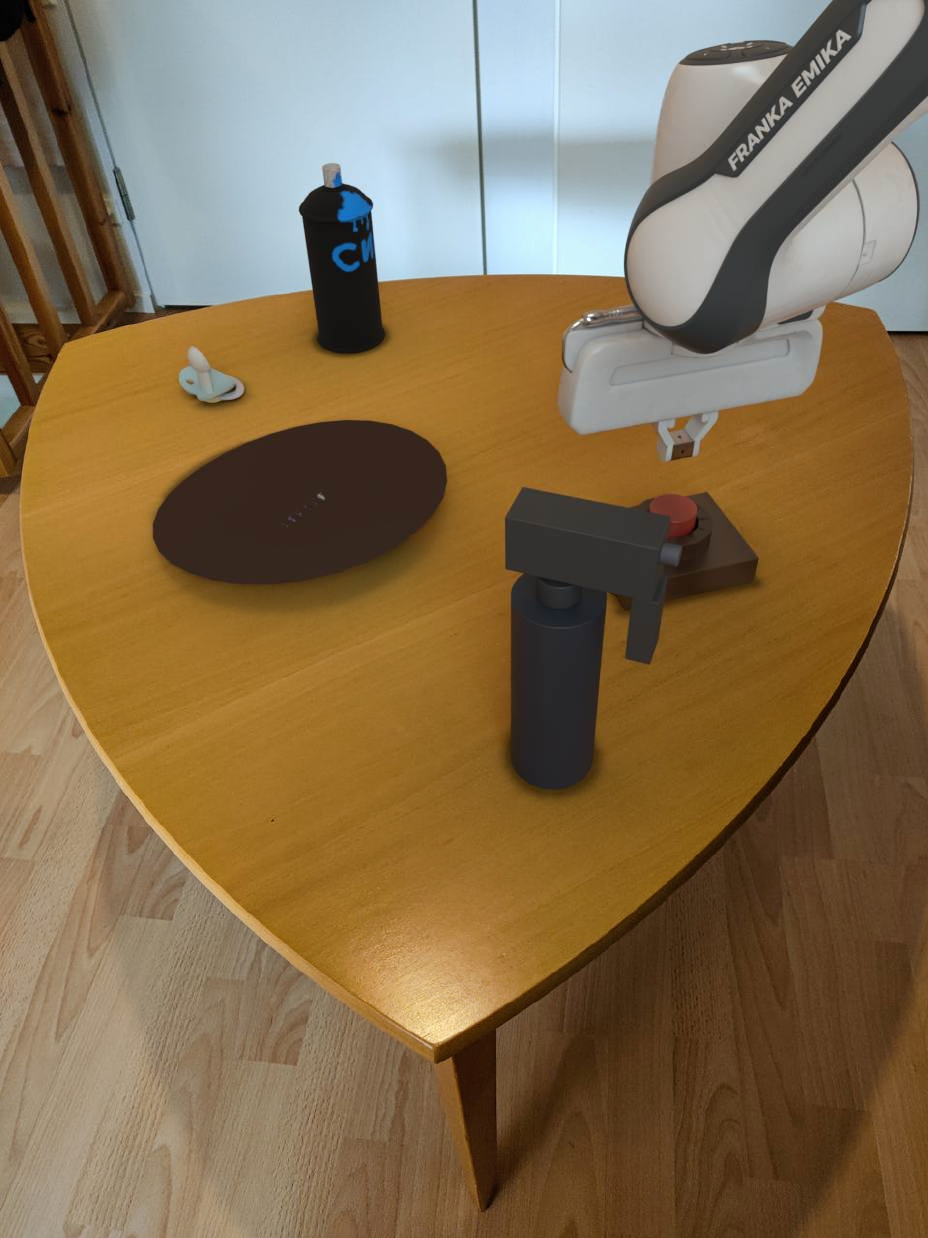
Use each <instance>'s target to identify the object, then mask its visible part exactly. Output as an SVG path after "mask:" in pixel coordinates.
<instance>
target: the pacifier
mask: <svg viewBox="0 0 928 1238" xmlns="http://www.w3.org/2000/svg"><path fill="white" fill-rule="evenodd" d="M186 354H187V355H186V356H187V361H188V363H189V365H187V366H185V367H184V368H183V369H181V371H179V374H178V381H179V384H180V386H181V388H182V389H183V390H184V391H185V392H187V393H189V394H191V395H194V396H196V397H197V400H199V401H200V402H201V401H203V402H206V403H209V404H211V403H213V404H215V403H218V402H221V401H231V400H232V401H233V400H235V399H238V398H240V397H241V396H242V395H243V394H245V393H244V392H245V386H244V384H243V382H242V381H241V380H240V379H238V378H237V377H235V376H232V375H229V374H226V373H223V372H221V371H219V370H217V369H215V368H212V367H211V365H210V363H209V361H208V359H207V358H206V357H205V355H204V354H203V352H202V351H200V349H199V348H197V347H196V346H193V345H191V346H190V347H189V349H188V350H187V353H186ZM188 382H192V384H190V383H188ZM233 388H235V390H233V391H232V392H229V391H231V390H232V389H233Z"/></svg>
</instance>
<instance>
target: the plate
mask: <svg viewBox="0 0 928 1238" xmlns="http://www.w3.org/2000/svg"><path fill="white" fill-rule="evenodd" d="M447 473H448V472H447V465H446V463H445V461H444V459H443V457H442V455H441V453H440V451H439V450H438V449H437V448H436V447H435V446H434V445H433V444H432V443H431V442H430V441H429V440H428V439H426V438H425V437H423V436H421V435H419V434H418V433H416V432H415V431H413V430H410V429H408V428H404V427H403V426H399V425H395V424H392V423H386V422H383V421H382V422H380V421H374V420H367V419H366V420H364V419H363V420H362V419H339V420H329V421H319V422H314V423H313V422H312V423H308V424H304V425H302V424H301V425H297V426H293V427H290V428H286V429H283V430H279V431H276V432H271V433H269V434H266V435H263V436H260V437H257V438H255V439H252V440H250V441H247V442H245V443H243V444H241V445H238V446H237V447H234V448H232V449H231V450H229V451H226V452H224V453H222V454H220V455H219V456H217V457H215V458H214V459H212V460H211V461H209V462H207V463H205V464H203V465H202V466H200V467H199V468H198V469H196V470H195V471H193V472H192V473H191V474H189V475H188V476H187V477H186V478H184V479H183V480H182V481H181V482H180V483H179V484H178V485H177V486H175V487H174V488H173V489H172V490H171V491H170V492H169V493H168V494H167V496H166V497H165V498H164V500H163V501H162V503H161V504H160V506H159V507H158V508H157V511H156V513H155V516H154V519H153V522H152V539H153V541H154V544H155V546H156V549H157V551H158V553H160V554H161V556H163V557H164V558H165V560H167V561H168V562H169V563H170V564H171V565H173V566H174V567H177V568H179V569H181V570H182V571H184V572H186V573H188V574H190V575H192V576H197V577H199V578H203V579H205V580H208V581H209V580H210V581H213V582H219V583H226V584H227V583H229V584H234V585H235V584H236V585H280V584H288V583H298V582H305V581H310V580H314V579H318V578H322V577H326V576H332V575H335V574H339V573H342V572H344V571H347V570H350V569H353V568H356V567H358V566H361V565H364V564H367V563H369V562H371V561H373V560H375V559H377V558H379V557H382V556H383V555H385V554H386V553H388V552H391V551H393V550H394V549H396V548H397V547H399V546H400V545H402V544H404V542H405V541H407V540H408V539H410V538H411V537H413V536H414V535H415V534H417V533H418V532H419V531H420V530H421V528H422V527H424V526H425V524H427V522H428V521H429V520H431V518H432V517H433V516H434V514H435V513H436V511H437V509H438V508H439V506H440V504H441V503H442V501H443V499H444V496H445V492H446V489H447V486H448V485H447V484H448V474H447Z"/></svg>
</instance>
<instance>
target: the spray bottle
mask: <svg viewBox="0 0 928 1238" xmlns="http://www.w3.org/2000/svg"><path fill="white" fill-rule="evenodd" d="M670 520H671V517H670V516H667V515H662V514H657V513H652V512H647V511H642V510H637V509H632V508H629V507H626V506H621V505H616V504H611V503H606V502H601V501H596V500H591V499H586V498H581V497H576V496H571V495H570V496H569V495H565V494H561V493H556V492H550V491H545V490H540V489H535V488H531V487H526V486H522V487H521V488H520V490H519V492H518V494H517V496H516V497H515V499H514V501H513V503H512V505H511V506H510V508H509V510H508V511H507V513H506V515H505V517H504V555H505V556H504V569H505V570H507V571H511V572H515V573H519V574H521V575H520V576H518V577H517V579H516V580H515V581H514V583H513V584H512V587H511V590H510V760H511V761H510V762H511V764H512V767H513V769H514V771H515V772H516V774H517V775H518V776H519V777H520V778H521V779H522V780H523V781H524V782H527V783H528V784H530V785H532V786H535V787H537V788H540V789H545V790H562V789H567V788H570V787H572V786H575V785H576V784H578V783H580V782H581V781H582V780H583V779H584V778H585V777H587V775H588V774H589V772H590V771H591V769H592V765H593V760H594V751H595V740H596V727H597V716H598V708H599V707H598V705H599V694H600V683H601V671H602V661H603V651H604V650H603V649H604V640H605V639H604V638H605V630H606V629H605V627H606V617H607V606H608V605H607V604H608V593H609V594H613V595H615V594H618V595H622V596H626V597H631V598H635V599H640V600H644V601H649V602H651V601H652V599H653V597H654V594H655V591H656V588H657V586H658V583H659V580H660V578H661V575H662V572H663V569H664V564H667V565H671V566H676V567H677V566H678V564H679V561H680V557H681V552H682V546H679V545H674V544H669V543H667V542H668V535H669V528H670Z"/></svg>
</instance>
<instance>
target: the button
mask: <svg viewBox="0 0 928 1238" xmlns="http://www.w3.org/2000/svg"><path fill="white" fill-rule="evenodd" d="M685 496H686V495H682V494H677V493H664V494H661V495H658V496H655V497H653V498H654V499H653V500H652V502H651V503H650V507H649V512H652V513H657V514H662V515H667V516H670V517H671V520H670V528H669V535H668V537H681V536H686V535H688V534H690V533H691V532H692V531H693V529H694V527H695V522H696V515H697V507H696V505H695V503H694V502H693V501H692V500H691V499H689V498H687V497H685Z"/></svg>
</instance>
